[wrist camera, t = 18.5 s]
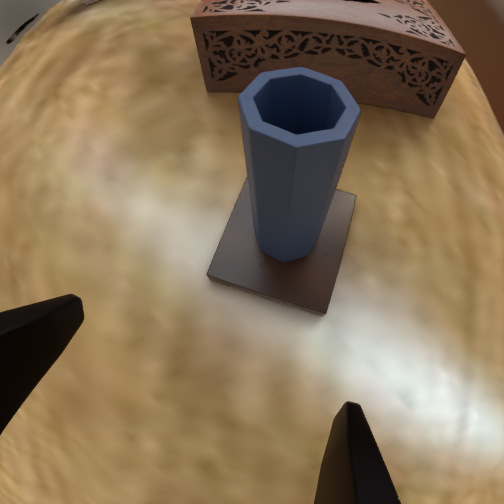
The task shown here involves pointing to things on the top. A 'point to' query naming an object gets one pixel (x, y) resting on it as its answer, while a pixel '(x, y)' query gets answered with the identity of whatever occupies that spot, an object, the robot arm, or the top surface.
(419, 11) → the tissue box cover
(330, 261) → the brown plate with knob
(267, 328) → the top surface
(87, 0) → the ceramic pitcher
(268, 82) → the blue sleeve
